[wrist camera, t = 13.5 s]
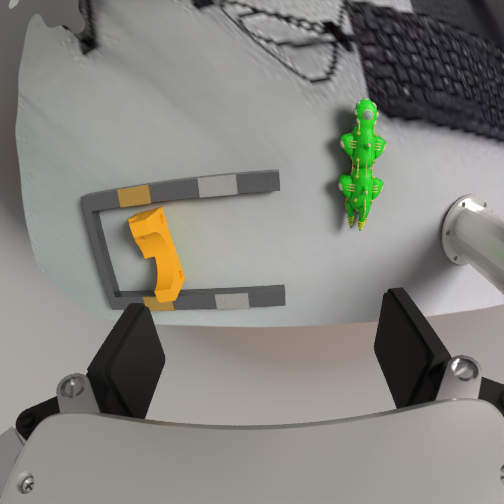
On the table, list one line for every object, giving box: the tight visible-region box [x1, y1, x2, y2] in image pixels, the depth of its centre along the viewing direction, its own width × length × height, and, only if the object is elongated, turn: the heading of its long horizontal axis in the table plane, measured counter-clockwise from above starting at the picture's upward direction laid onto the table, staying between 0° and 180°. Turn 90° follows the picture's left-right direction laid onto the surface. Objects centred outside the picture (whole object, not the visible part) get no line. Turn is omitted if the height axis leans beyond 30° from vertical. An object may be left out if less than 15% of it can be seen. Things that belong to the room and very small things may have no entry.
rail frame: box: [81, 170, 285, 311], centre depth 42 cm, size 30×20×2 cm
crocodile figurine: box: [338, 98, 386, 231], centre depth 35 cm, size 7×18×4 cm, turn 1°
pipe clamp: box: [128, 207, 185, 303], centre depth 40 cm, size 12×4×6 cm, turn 13°
